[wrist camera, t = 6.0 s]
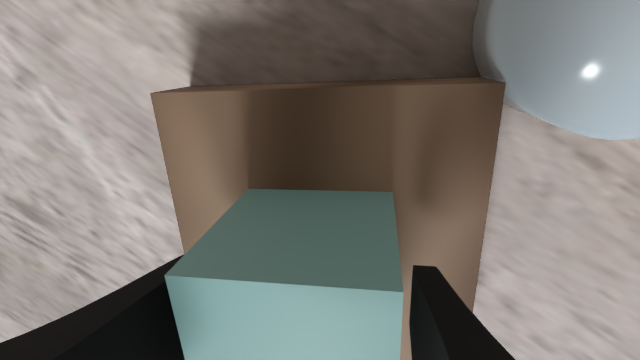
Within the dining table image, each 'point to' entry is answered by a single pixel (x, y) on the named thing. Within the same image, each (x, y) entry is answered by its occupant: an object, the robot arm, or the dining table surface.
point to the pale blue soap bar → (565, 61)
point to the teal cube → (293, 279)
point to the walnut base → (345, 158)
